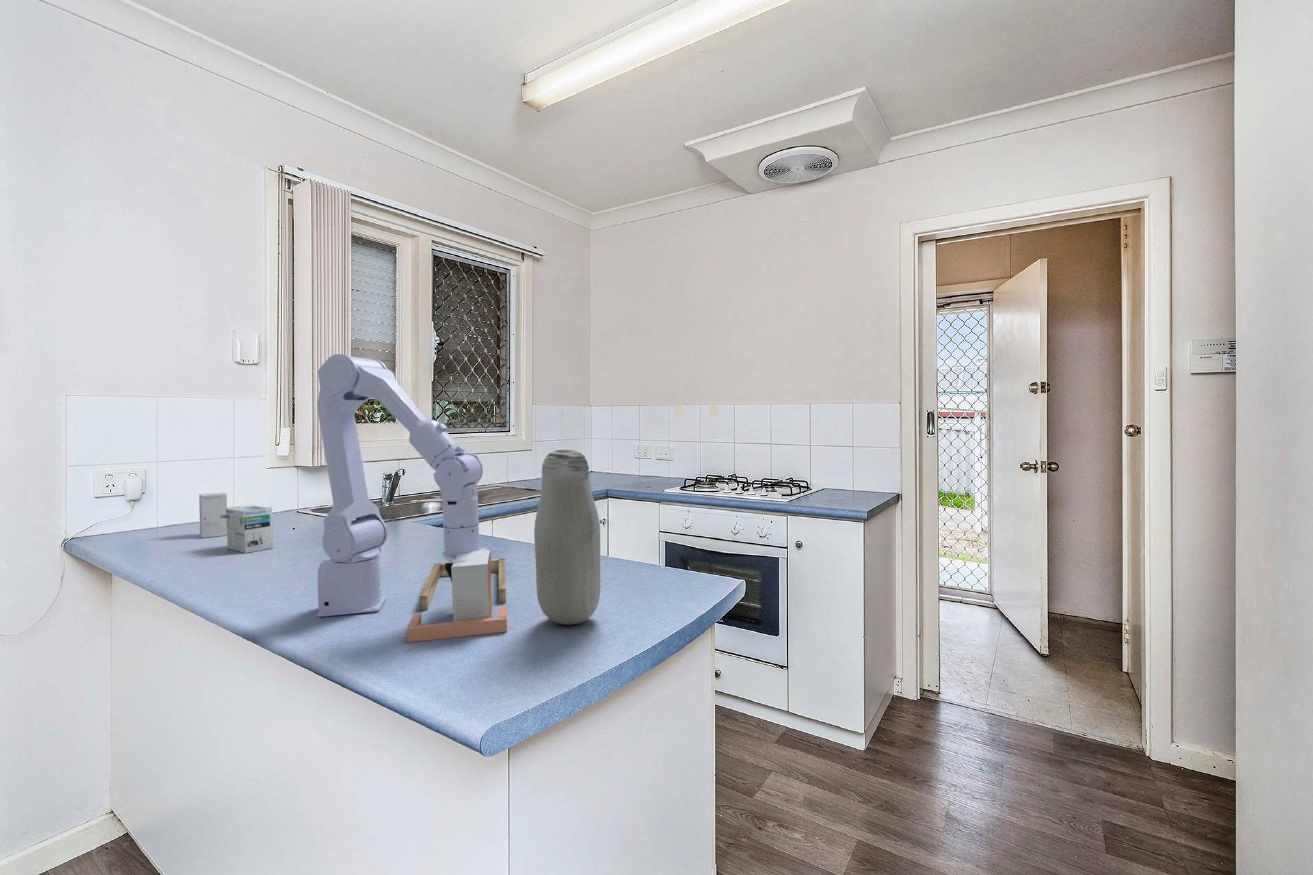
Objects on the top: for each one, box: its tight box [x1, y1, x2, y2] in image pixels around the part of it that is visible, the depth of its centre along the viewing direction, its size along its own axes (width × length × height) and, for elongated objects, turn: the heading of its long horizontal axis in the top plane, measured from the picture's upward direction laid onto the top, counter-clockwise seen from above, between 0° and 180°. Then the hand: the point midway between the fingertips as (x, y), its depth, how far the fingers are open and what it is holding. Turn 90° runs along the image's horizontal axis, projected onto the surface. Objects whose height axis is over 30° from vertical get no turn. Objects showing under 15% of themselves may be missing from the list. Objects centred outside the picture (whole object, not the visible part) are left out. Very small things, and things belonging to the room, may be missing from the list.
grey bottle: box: [533, 449, 601, 626], centre depth 93 cm, size 10×10×28 cm
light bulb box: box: [226, 504, 275, 554], centre depth 149 cm, size 11×7×11 cm, turn 58°
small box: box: [451, 549, 493, 622], centre depth 94 cm, size 8×6×10 cm
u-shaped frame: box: [419, 558, 507, 611], centre depth 113 cm, size 14×23×2 cm, turn 15°
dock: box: [406, 605, 508, 643], centre depth 91 cm, size 14×7×2 cm, turn 105°
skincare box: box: [198, 492, 228, 539], centre depth 165 cm, size 6×4×12 cm
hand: (464, 603), depth 99 cm, fingers closed, pressing on small box
